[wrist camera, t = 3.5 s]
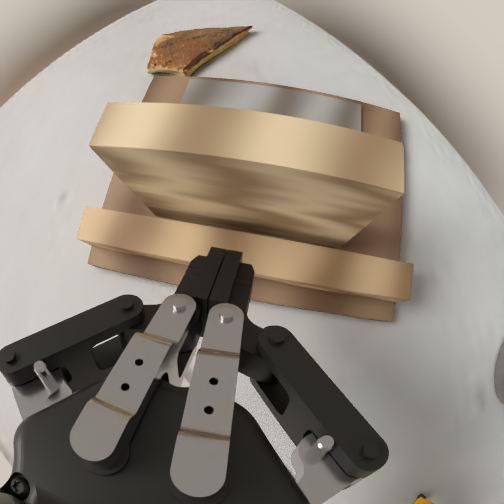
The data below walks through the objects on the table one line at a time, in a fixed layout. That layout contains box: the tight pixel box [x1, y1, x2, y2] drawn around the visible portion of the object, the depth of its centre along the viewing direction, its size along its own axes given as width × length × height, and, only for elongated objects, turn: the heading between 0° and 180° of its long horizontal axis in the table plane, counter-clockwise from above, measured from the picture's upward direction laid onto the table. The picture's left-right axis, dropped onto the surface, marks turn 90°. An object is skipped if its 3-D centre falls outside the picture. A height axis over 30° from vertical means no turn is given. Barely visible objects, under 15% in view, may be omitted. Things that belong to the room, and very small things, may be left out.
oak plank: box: [89, 102, 404, 248], centre depth 18 cm, size 14×2×11 cm, turn 79°
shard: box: [147, 26, 252, 76], centre depth 27 cm, size 11×8×2 cm
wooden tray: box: [76, 76, 413, 322], centre depth 23 cm, size 24×19×4 cm
